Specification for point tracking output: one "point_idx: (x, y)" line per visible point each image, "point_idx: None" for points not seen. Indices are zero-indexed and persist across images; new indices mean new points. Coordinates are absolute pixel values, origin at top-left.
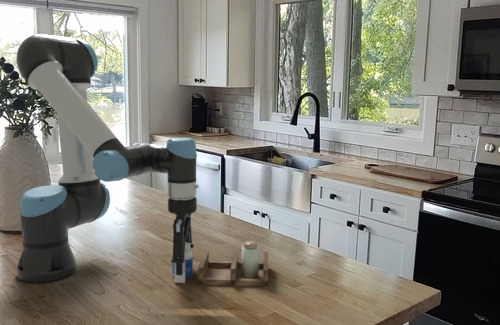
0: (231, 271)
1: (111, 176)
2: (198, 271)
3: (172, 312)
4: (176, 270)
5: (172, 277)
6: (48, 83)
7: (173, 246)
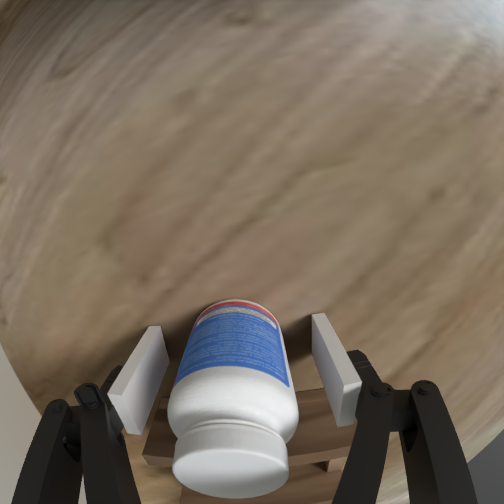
0: (181, 501)
1: None
2: (146, 445)
3: (19, 342)
4: (106, 381)
5: (216, 304)
6: None
7: (25, 463)
